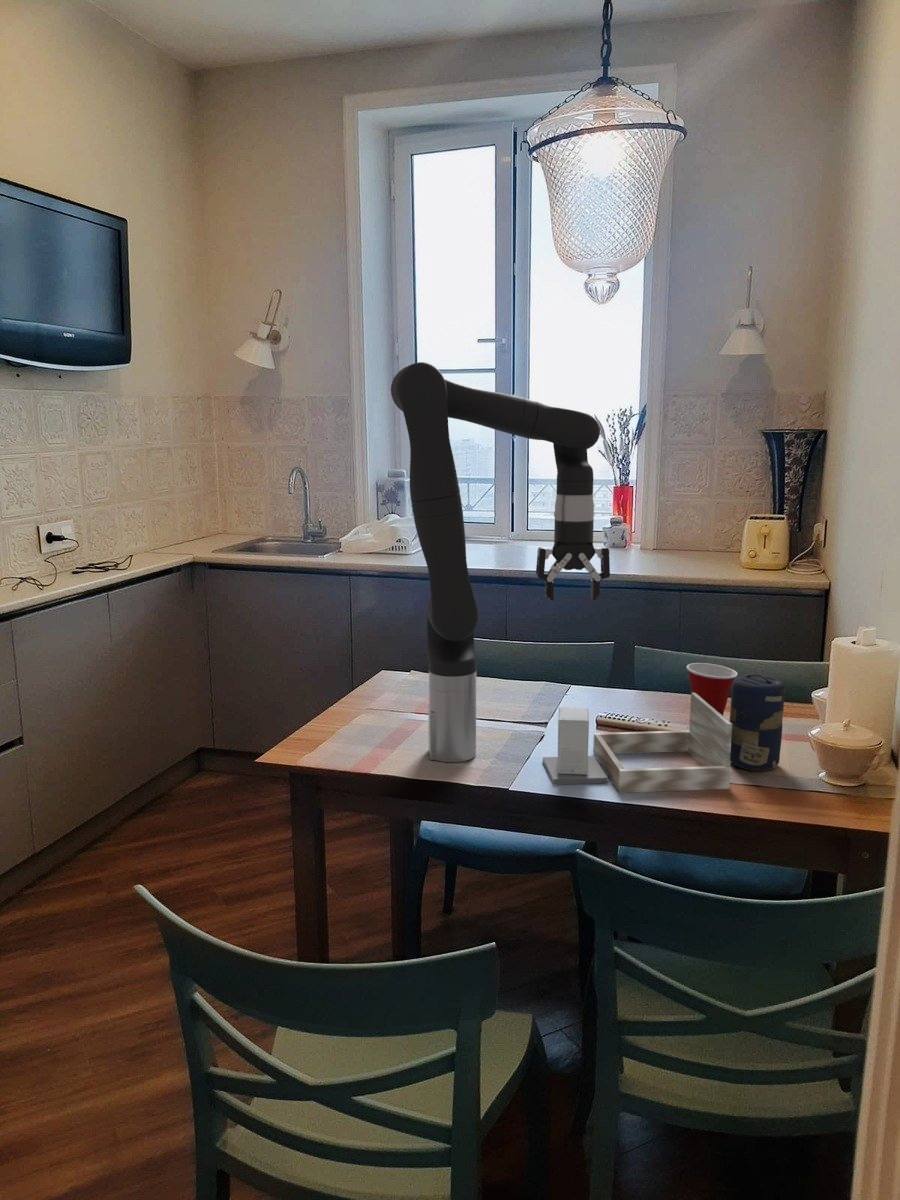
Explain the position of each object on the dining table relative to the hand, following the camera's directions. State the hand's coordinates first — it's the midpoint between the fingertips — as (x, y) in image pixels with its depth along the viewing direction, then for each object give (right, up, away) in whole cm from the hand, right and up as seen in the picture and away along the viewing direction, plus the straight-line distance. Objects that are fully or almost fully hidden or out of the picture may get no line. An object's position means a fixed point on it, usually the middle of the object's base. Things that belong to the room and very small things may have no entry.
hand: (572, 599), depth 177 cm
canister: (+34, -32, -5) cm, 47 cm away
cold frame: (+15, -32, -8) cm, 36 cm away
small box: (-1, -32, -9) cm, 33 cm away
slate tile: (-1, -32, -9) cm, 34 cm away
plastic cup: (+33, -27, +20) cm, 47 cm away
